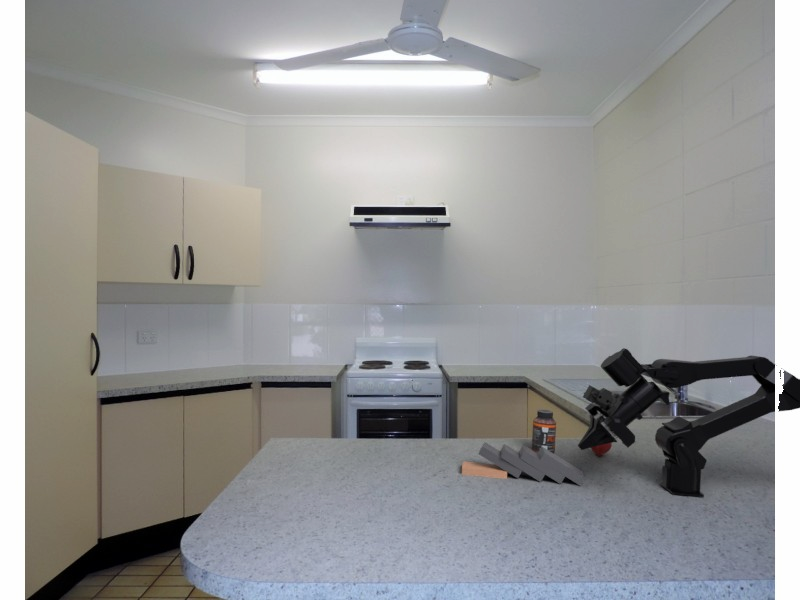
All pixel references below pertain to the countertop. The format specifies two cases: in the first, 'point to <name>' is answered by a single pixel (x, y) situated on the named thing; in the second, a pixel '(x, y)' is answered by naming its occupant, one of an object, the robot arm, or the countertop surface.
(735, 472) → the countertop surface
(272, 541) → the countertop surface
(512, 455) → the domino
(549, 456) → the domino
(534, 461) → the domino
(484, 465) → the domino
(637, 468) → the countertop surface
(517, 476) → the domino
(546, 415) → the supplement bottle
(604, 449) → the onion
